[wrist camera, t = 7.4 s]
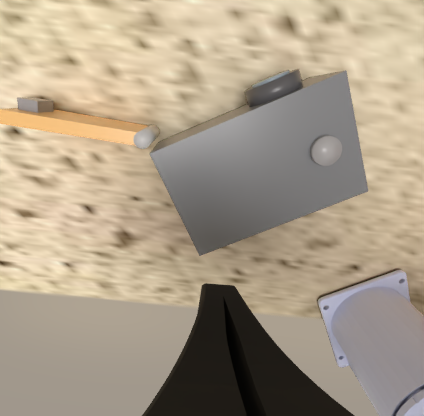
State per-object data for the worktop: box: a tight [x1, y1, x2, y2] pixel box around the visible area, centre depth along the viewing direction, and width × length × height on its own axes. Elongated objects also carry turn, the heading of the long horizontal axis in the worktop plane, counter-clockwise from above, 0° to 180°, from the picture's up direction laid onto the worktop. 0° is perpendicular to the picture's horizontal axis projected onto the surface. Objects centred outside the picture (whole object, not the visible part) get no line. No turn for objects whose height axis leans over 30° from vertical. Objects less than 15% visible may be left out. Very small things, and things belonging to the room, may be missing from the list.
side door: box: [0, 98, 159, 149], centre depth 16 cm, size 8×1×4 cm, turn 80°
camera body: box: [150, 69, 368, 256], centre depth 17 cm, size 8×11×5 cm
